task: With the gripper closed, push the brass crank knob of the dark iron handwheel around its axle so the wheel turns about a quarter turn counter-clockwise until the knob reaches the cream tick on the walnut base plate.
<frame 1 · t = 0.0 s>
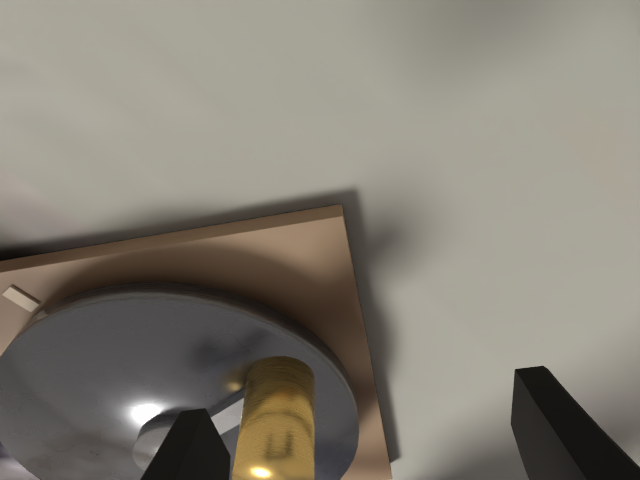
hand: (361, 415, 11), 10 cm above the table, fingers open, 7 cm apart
handwheel: (173, 464, 22), point 5 cm above the table, hinge at 0.0°
base plate: (194, 386, 26), on the table
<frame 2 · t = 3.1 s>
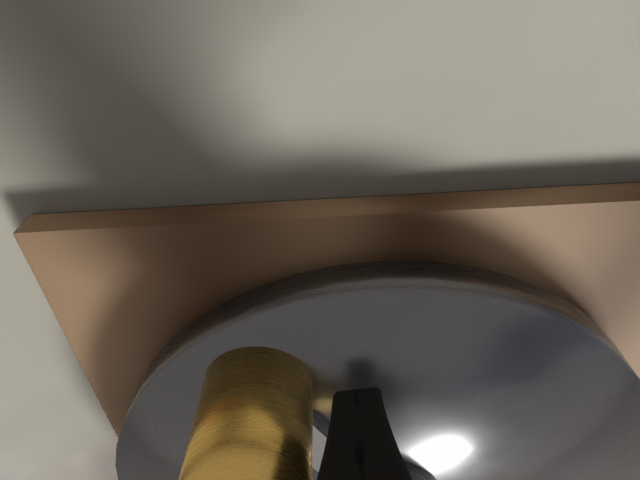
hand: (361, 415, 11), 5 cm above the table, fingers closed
base plate: (372, 412, 19), on the table
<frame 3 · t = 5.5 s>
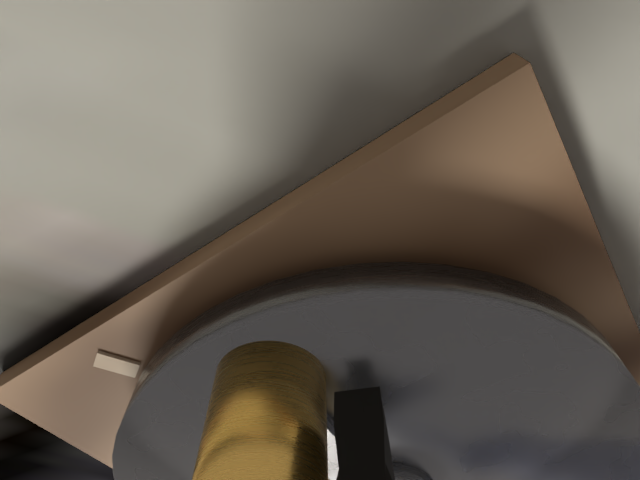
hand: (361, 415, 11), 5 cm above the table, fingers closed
base plate: (369, 412, 19), on the table
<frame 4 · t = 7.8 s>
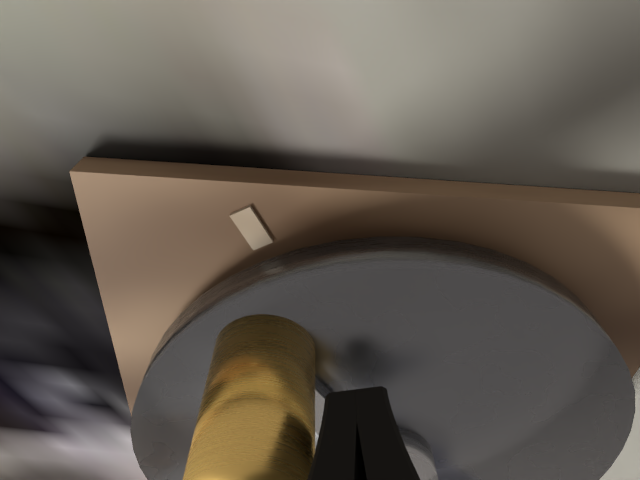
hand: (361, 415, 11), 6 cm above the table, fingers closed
base plate: (369, 386, 20), on the table
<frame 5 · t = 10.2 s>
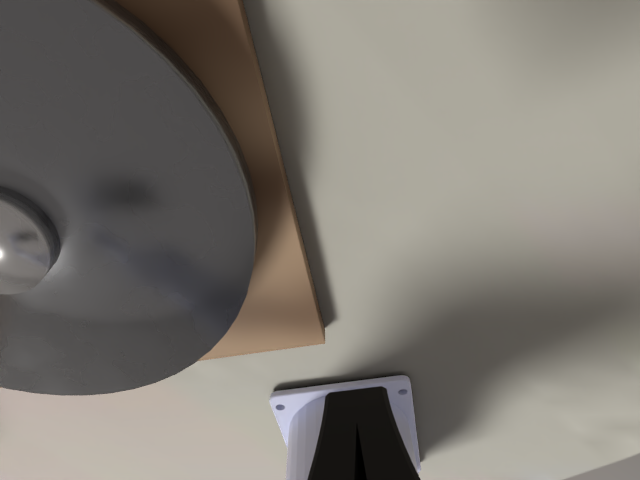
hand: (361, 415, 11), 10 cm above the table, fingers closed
base plate: (46, 191, 19), on the table
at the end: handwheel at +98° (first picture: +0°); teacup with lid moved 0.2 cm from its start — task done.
